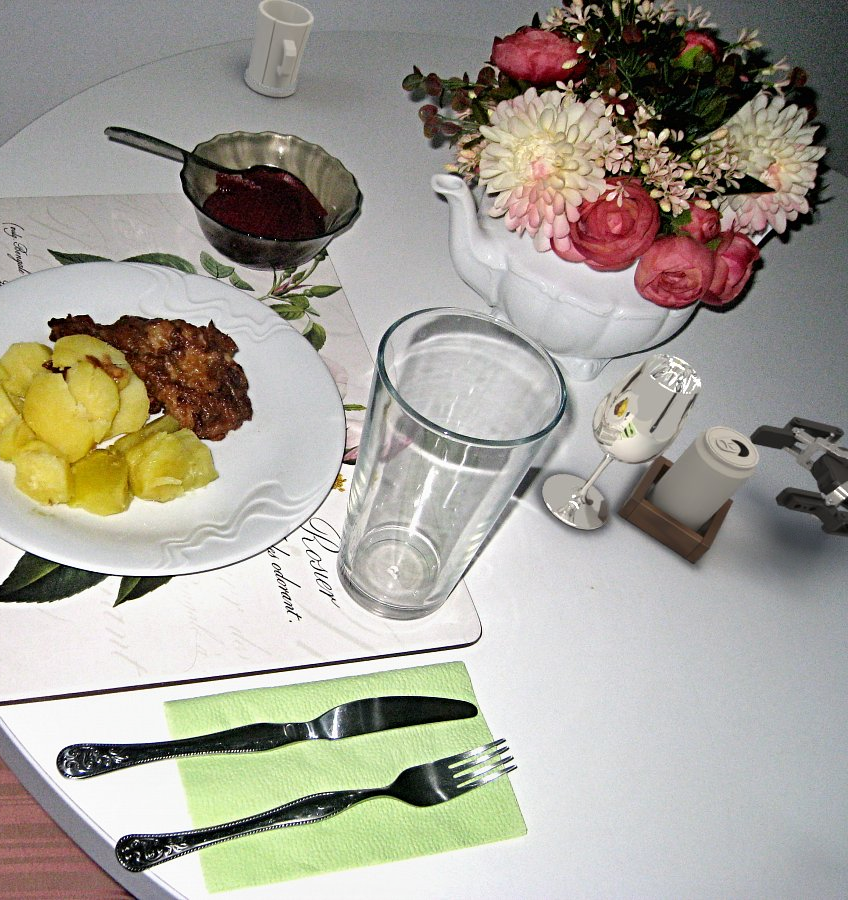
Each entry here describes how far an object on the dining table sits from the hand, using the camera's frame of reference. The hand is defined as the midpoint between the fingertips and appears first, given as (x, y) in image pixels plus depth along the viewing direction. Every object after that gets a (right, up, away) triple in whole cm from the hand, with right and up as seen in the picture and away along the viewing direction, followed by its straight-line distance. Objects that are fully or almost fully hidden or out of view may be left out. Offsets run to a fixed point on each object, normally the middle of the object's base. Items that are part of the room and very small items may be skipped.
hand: (767, 464), depth 93 cm
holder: (-7, -6, +7) cm, 12 cm away
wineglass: (-18, -4, +6) cm, 19 cm away
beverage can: (-7, -6, +7) cm, 12 cm away
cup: (-50, +61, +55) cm, 96 cm away
